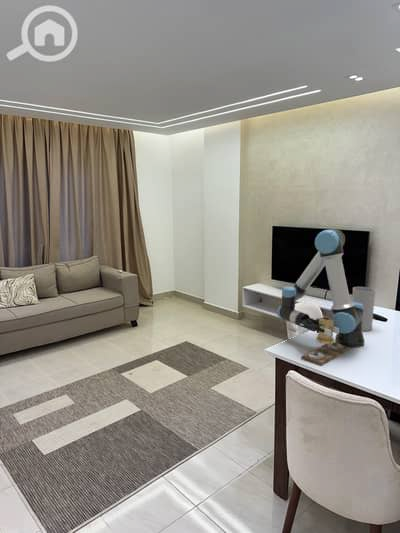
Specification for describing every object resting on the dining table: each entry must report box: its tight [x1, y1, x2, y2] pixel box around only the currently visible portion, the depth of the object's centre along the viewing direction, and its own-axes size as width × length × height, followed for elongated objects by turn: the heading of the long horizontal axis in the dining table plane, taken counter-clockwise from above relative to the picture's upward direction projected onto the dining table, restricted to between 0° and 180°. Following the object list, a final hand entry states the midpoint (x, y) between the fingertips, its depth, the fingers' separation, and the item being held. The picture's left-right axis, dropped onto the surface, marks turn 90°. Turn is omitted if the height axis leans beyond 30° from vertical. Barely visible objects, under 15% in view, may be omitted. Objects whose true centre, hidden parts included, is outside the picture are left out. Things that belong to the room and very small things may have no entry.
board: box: [300, 340, 349, 367], centre depth 190 cm, size 28×11×8 cm, turn 133°
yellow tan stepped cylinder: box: [315, 316, 335, 345], centre depth 189 cm, size 9×9×12 cm
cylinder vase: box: [351, 286, 376, 332], centre depth 229 cm, size 12×12×25 cm
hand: (334, 331), depth 184 cm, fingers closed on yellow tan stepped cylinder, 5 cm apart
